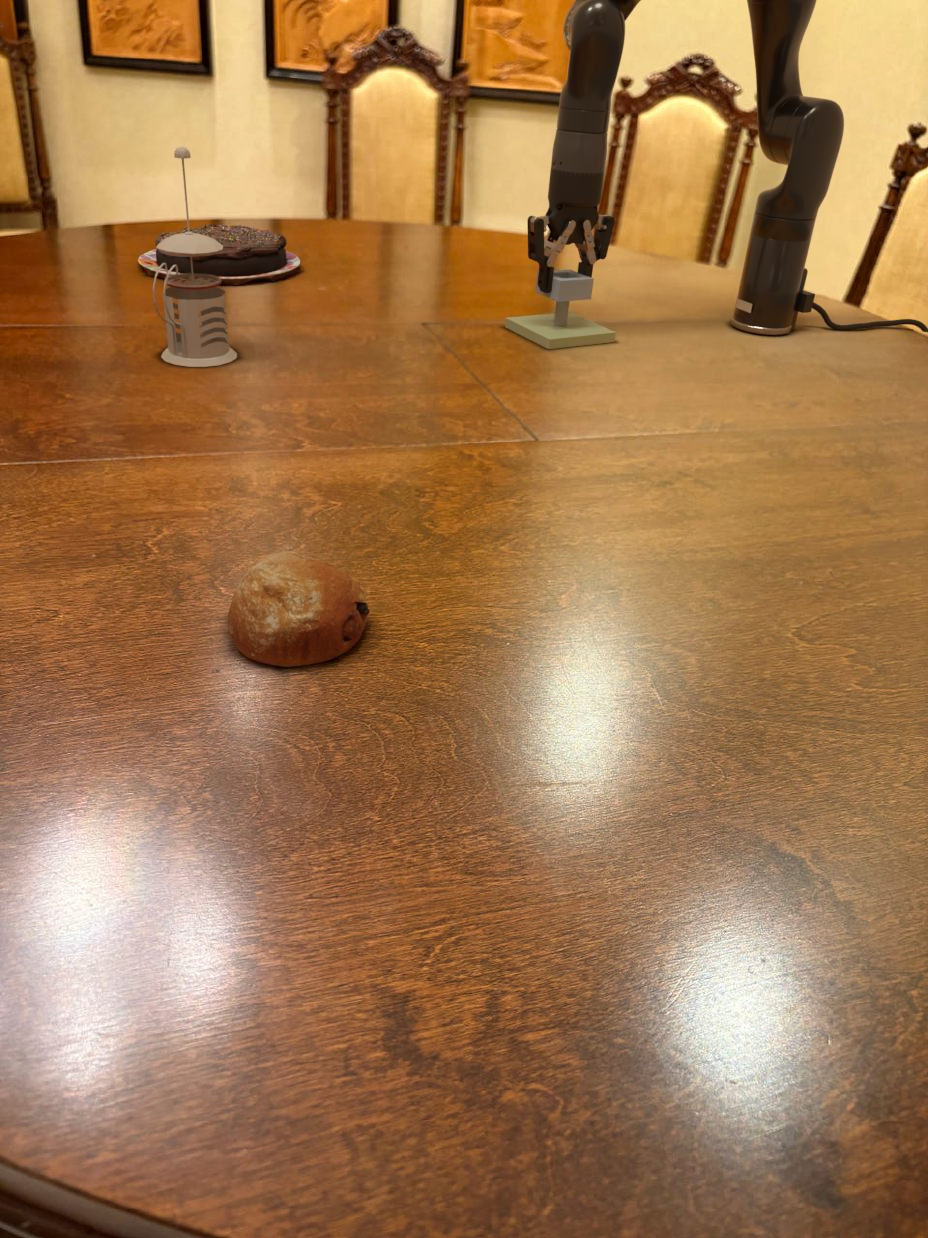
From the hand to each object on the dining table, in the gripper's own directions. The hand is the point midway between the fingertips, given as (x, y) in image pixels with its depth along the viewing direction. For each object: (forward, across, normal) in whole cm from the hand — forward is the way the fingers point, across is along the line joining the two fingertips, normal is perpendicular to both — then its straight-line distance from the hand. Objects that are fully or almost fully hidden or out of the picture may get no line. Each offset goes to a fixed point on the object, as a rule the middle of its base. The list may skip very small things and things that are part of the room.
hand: (563, 290), depth 144 cm
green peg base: (+7, 0, 0) cm, 7 cm away
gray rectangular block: (+1, 0, 0) cm, 1 cm away
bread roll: (+7, -66, -62) cm, 91 cm away
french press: (+7, -54, +6) cm, 55 cm away
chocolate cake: (+7, -35, +55) cm, 66 cm away
